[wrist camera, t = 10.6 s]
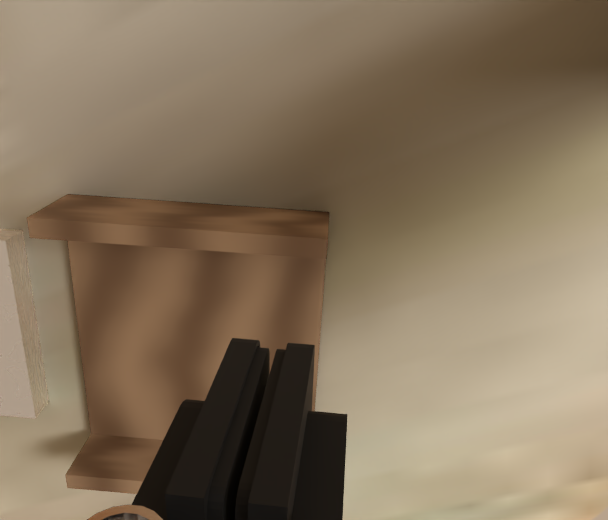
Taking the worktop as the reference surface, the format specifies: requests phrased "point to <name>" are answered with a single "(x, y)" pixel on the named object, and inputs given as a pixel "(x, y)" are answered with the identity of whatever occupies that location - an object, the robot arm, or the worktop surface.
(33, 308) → the cover plate
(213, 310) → the walnut case
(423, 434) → the worktop surface
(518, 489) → the worktop surface
